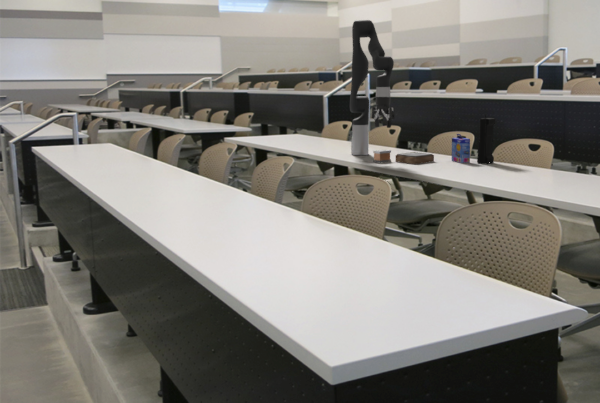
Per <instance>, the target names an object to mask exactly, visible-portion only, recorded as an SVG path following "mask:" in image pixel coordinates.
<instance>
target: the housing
mask: <svg viewBox="0 0 600 403" xmlns="http://www.w3.org/2000/svg"><path fill="white" fill-rule="evenodd" d="M372 152H373V157H374V158H373V161H372V162H373V163H377V162H380V163H379V164H382V163H381V162H383V163H389V162H390V163H391V161H392V159H391V153H392V150H391V149H379V150H372Z"/></svg>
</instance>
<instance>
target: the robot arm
mask: <svg viewBox="0 0 600 403" xmlns="http://www.w3.org/2000/svg"><path fill="white" fill-rule="evenodd" d="M351 33H352V36H351V37H352V57H351V58H352V59H351V85H350V96H349V111H350V112H351V113H354V114H356V113H357V114H358V113H361V115H359V116H358V117H355V118H354V119H352V127H351V128H352V132H351V133H352V137H351V138H350V139H351V142H350V143H351V145H350V147H351V148H350V149H351V152H350V153H351V155H352V156H353V155H354V156H367V155H369V148H370V147H369V146H370V145H369V142H370V141H369V132H370V131H369V122H370V121H369V117H370V115H369V114H370V98H369V97H368V96H366V95H364V96H363V95H360V96H359V95H358V92H359V89H360V88H361V86H362V84H363V83H364V81H365V80H366V79H367V77H368V74H369V64H370V63H369V59H368V57H367V55H366V53H365V52H364V50H363V48H362V46H361V38H369V39H370V40H369V41H368V44H367V49H368V53H369V54H370V57H371V59H372V67H373V69H374V70H375V71H382V72H383V71H384V72H383V74H381V75H378V76H376V78H375V79H376V84H375V85H376V86H375V106H373V107H372V108H371V118H372V119H374V127H376V128H379V127H380V118H381V117H382V116H383V117H385V119H386V128H387V129H388V128H389V129H391V128H392V120H395V107H390V105H391V76H392V72H393V69H394V64H395V62H394V59H393V57H391V56H386V52H385V50H384V48H383V46H382V45H381V42H380V41H379V37H378V33H377V30H376V28H375V25H374V22H373V21H372V20H370V19H358V20H357V19H356V20H354V21H353V24H352V31H351Z"/></svg>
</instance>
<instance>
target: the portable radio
mask: <svg viewBox="0 0 600 403" xmlns="http://www.w3.org/2000/svg"><path fill="white" fill-rule="evenodd" d="M495 124H496V118H494V117H487V113H485V116H484V117H481V118H479V129H478V130H479V131H478V136H479V138H478V139H479V140H478V147H477V157H476V158H477V159H476V162H477V164H480V163H489V162H493V163H494V162H495V161H494V158H495V157H494V156H493V151H494V150H493V148H494V145H493V144H494V125H495Z"/></svg>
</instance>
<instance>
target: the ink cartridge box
mask: <svg viewBox="0 0 600 403" xmlns="http://www.w3.org/2000/svg"><path fill="white" fill-rule="evenodd" d="M456 136H457V137H452V138H451V162H456V163H460V164H464V163H465V164H467V163H470V162H471V140H470V138H467V137H463V135H462V134H459V133H456Z"/></svg>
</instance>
